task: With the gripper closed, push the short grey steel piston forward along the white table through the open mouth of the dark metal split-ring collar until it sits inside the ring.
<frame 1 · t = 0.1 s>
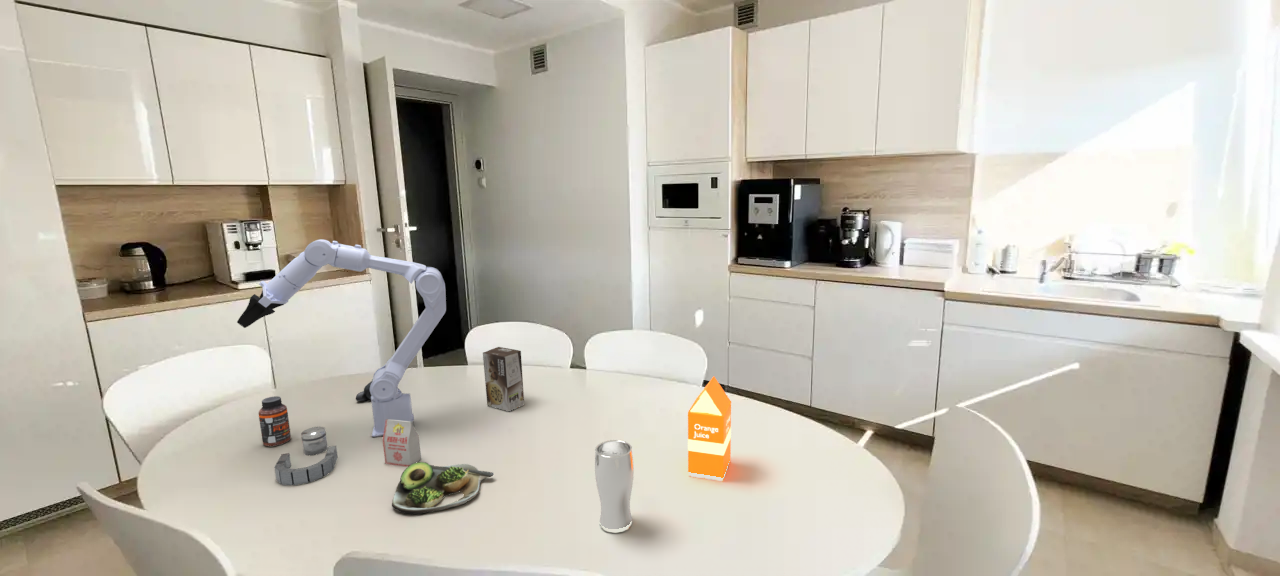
hand: (246, 321, 129), 32 cm above the table, tool tilted 50°, fingers open, 7 cm apart
white paper bag: (403, 462, 127), on the table
beer glass: (616, 524, 102), on the table
split ring collar: (306, 472, 123), on the table
orange juice: (709, 470, 121), on the table
coffee box: (505, 406, 158), on the table
can opener: (379, 393, 170), on the table
avocado toast plate: (436, 492, 115), on the table
piston: (316, 450, 133), on the table
supplement bottle: (277, 442, 138), on the table
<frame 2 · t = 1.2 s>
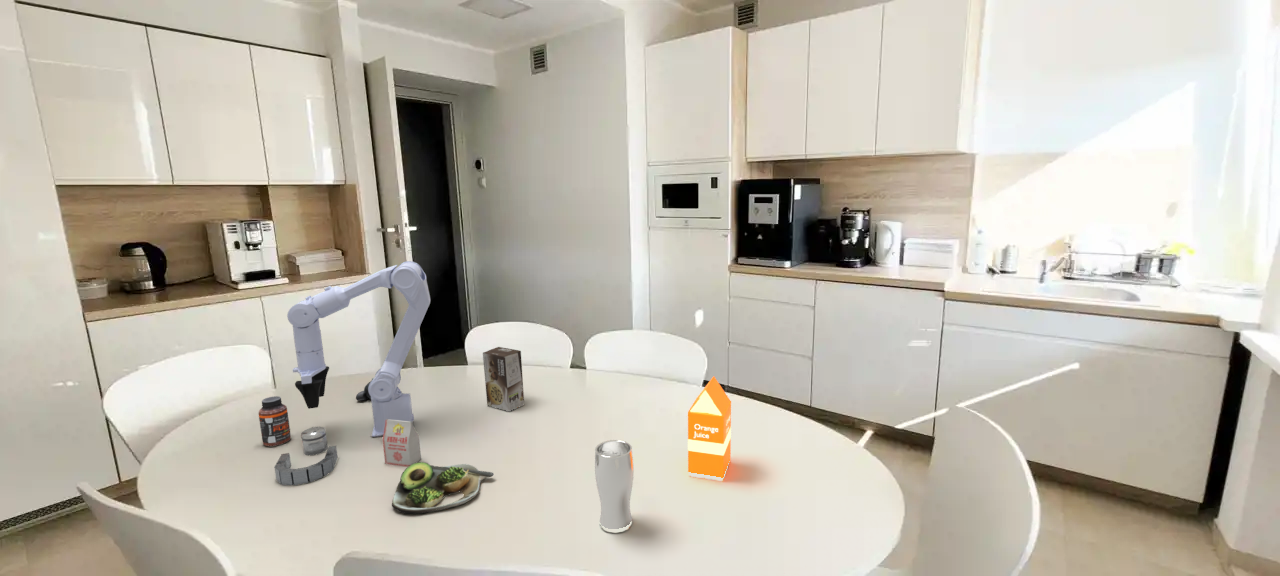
hand: (316, 401, 138), 9 cm above the table, tool pointing down, fingers open, 7 cm apart
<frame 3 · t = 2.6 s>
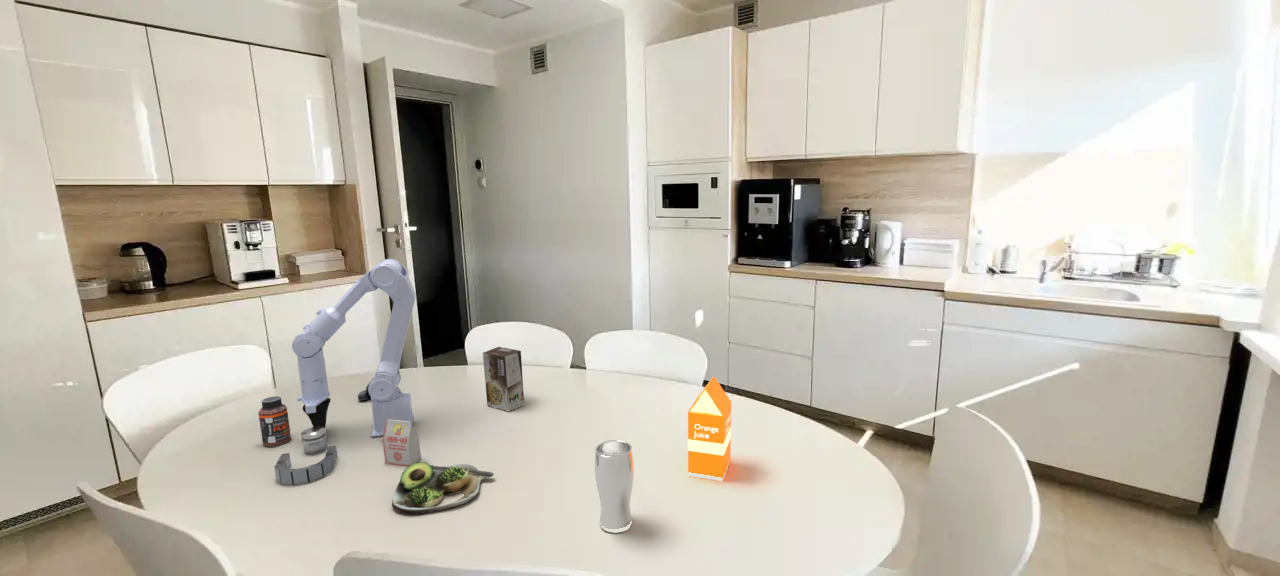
hand: (320, 429, 140), 2 cm above the table, tool pointing down, fingers closed
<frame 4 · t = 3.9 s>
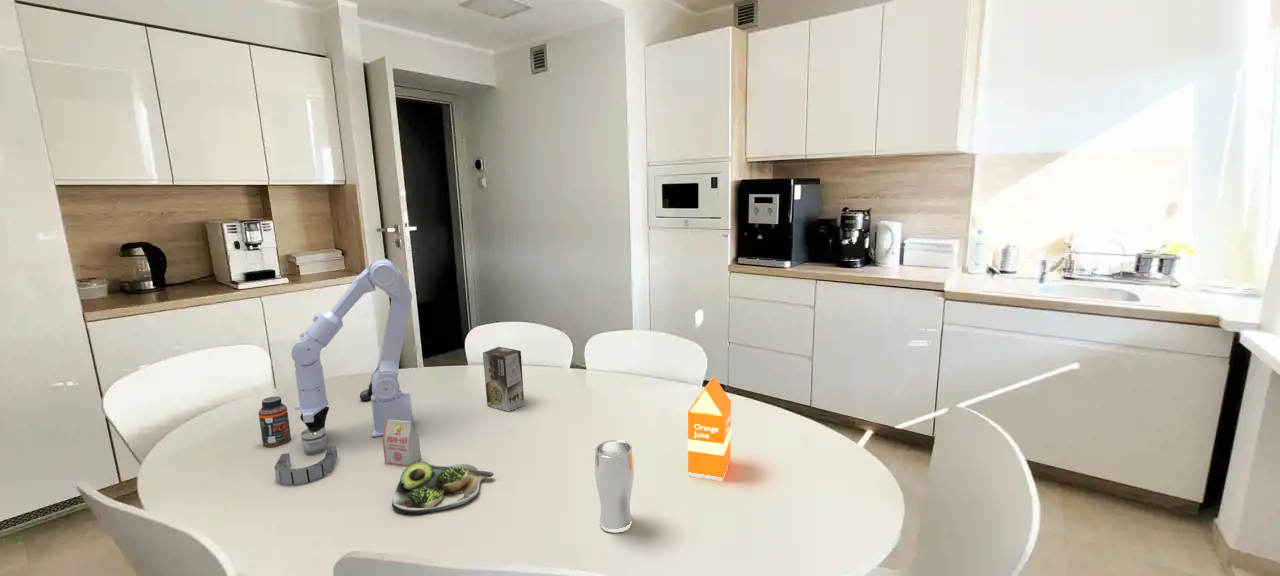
hand: (318, 438, 137), 1 cm above the table, tool pointing down, fingers closed
piston: (316, 450, 133), on the table, touching gripper
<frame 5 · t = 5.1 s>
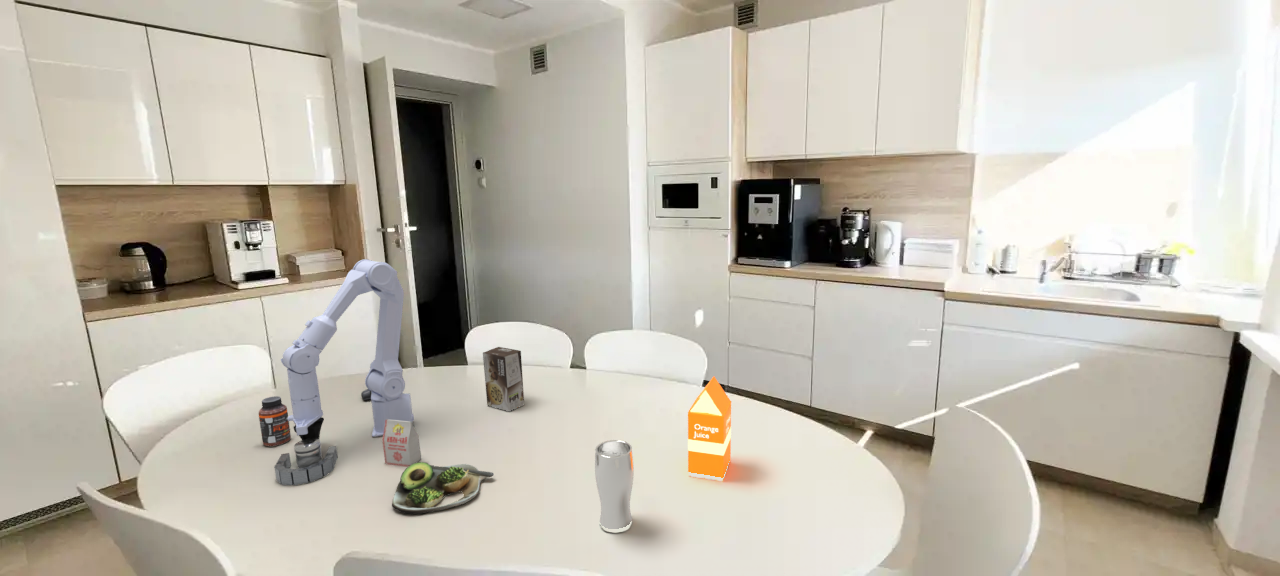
hand: (312, 451, 130), 1 cm above the table, tool pointing down, fingers closed
piston: (310, 463, 127), on the table, touching gripper
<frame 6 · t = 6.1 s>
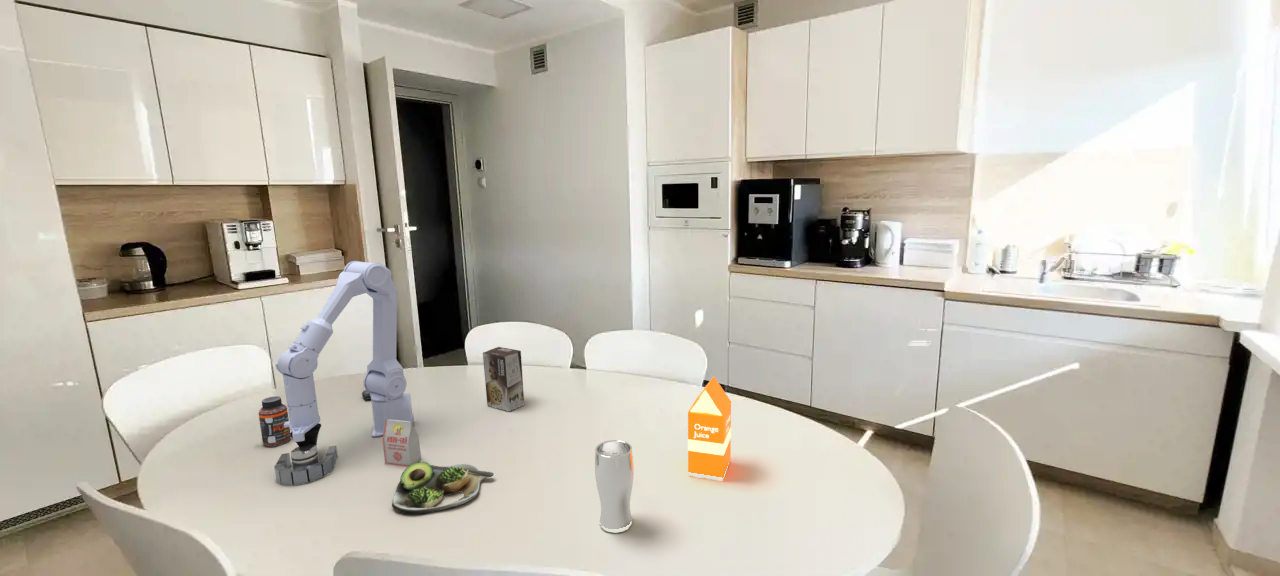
hand: (310, 457, 127), 1 cm above the table, tool pointing down, fingers closed
piston: (307, 470, 124), on the table, touching gripper
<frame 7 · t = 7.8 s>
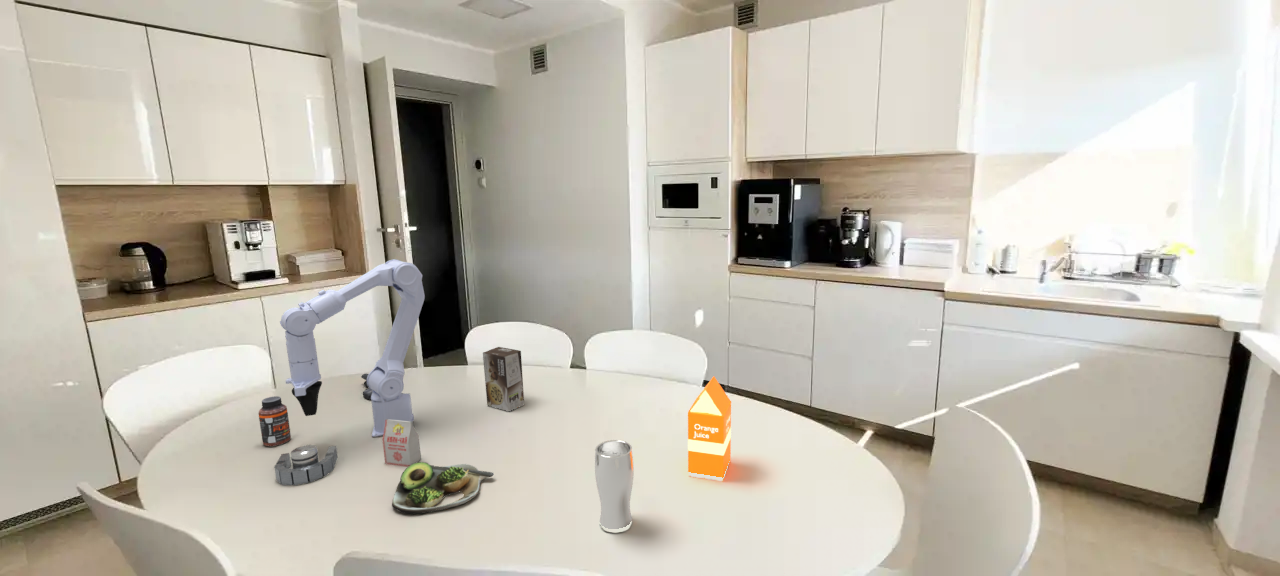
hand: (311, 414, 131), 9 cm above the table, tool pointing down, fingers closed
piston: (306, 471, 124), on the table
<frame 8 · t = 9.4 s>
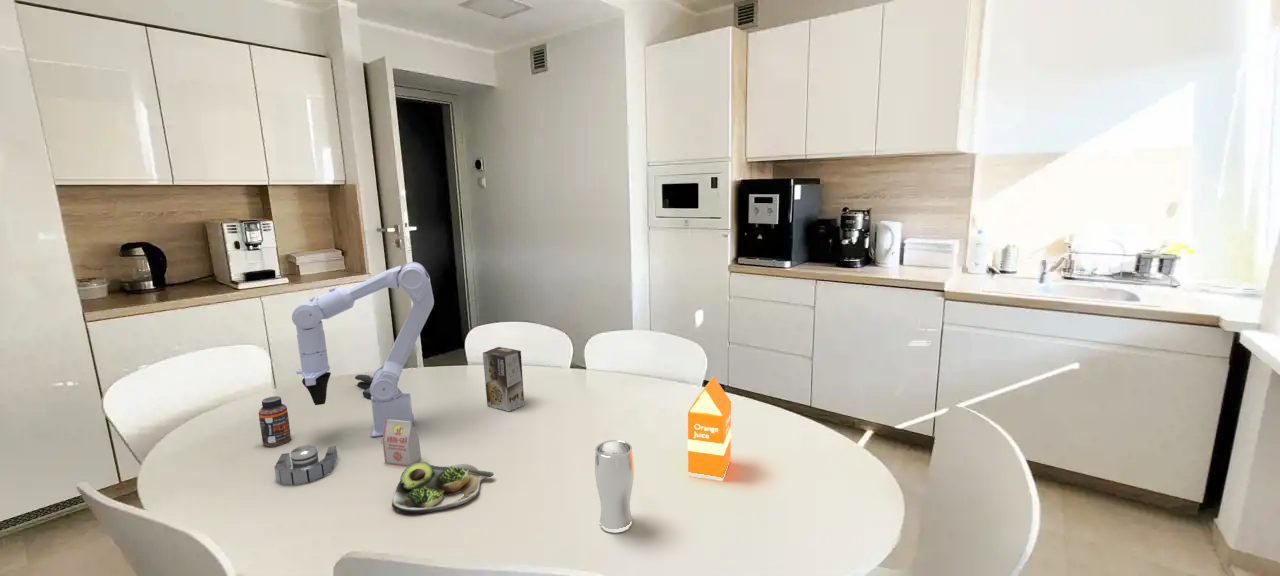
hand: (320, 403, 137), 9 cm above the table, tool pointing down, fingers closed
at the end: piston 0.6 cm from the split ring collar (horizontally); piston tilted 0° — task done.
